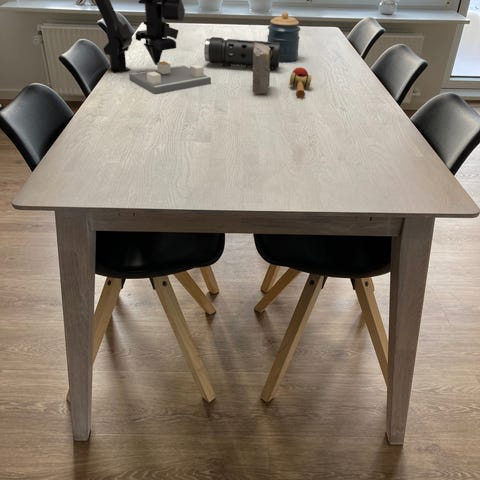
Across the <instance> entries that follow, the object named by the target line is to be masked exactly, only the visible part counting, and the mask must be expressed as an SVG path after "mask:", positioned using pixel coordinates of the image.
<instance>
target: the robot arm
mask: <svg viewBox="0 0 480 480" xmlns="http://www.w3.org/2000/svg"><path fill="white" fill-rule="evenodd" d="M93 1H94V2H95V5H96V7H97V9H98V11H99V13H100V15H101V17H102V20H103V22H104V24H105V27H106V37H107V40H108V42H107V44H105V46H104V47H103V49H102V50H103V52H104V55H106V56H108V57H109V66H106V69H107V70H109V71H110V72H112V73H115V74H116V73H121V72H122V73H123V72H128V71H130V70H131V68H129V67H127V61H126V52H127V51H129V47H130V46H131V44H132V42H133V37H132V36H133V33H132V32H131V31H130V28H129V25H128V23H125V24H123V23H122V22H121V20H120V19H119V17H118V15H117V13H116V11H115V9H114V6H113V4H112V2H111V0H93ZM138 4H142V5H143V4H144V13H145V14H144V15H145V20H143V25H145V27H146V29H145V30H137V32H135V34H134V36H135V40H137V41H139V42H141V40H143V39H144V40H145V42H144V43H143V46H144V47H145V49H146V51H147V52H148V53H149V56H150V57H151V59H152V62H153V64H154V65H155V66H157V63H159V62H161V57H162V54H163V51H167V50H175V49H177V42H176V41H175V40H177V39H178V35H179V29H176V28H173V27H170V23H167V22H165V21H163V20H169V21H177V22H182V21H183V20H184V18H185V15H186V14H185V13H186V11H185V10H186V9H185V6H184V3H183V1H182V0H138ZM172 38H173V39H172Z"/></svg>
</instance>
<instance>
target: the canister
mask: <svg viewBox="0 0 480 480" xmlns="http://www.w3.org/2000/svg"><path fill="white" fill-rule="evenodd" d="M299 23H300V21H298V20H297V19H296V18H295V17H293V16H292V17H291V16H289V13H288V12H287V11H283V12H282V14H281V16H280V15H279V16H275V17H274V18H272V19H270V25H268V26H267V29H268V34H267V41H266V42H280V44H281V46H280V60H279V63H291V62H292V63H293V62H295V61H297V60H298V56H299V43H300V36H299V35H300V34H299V33H300V31H301V27H300V26H299Z"/></svg>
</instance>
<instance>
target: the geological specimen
mask: <svg viewBox="0 0 480 480" xmlns="http://www.w3.org/2000/svg"><path fill="white" fill-rule="evenodd" d="M271 55H272V51H271V49H270V48H269V47H268V46H265V45H264V44H259V43H257V42H255V43H254V51H253V67H252V92H253V93H255V94H265V93H268V90H269V87H270V74H271V73H270V72H271V69H270V57H271Z"/></svg>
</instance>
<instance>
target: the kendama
mask: <svg viewBox="0 0 480 480" xmlns="http://www.w3.org/2000/svg"><path fill="white" fill-rule="evenodd" d="M311 83H312V75H311V74H309V73H308V70H307V69H305V68H304V67H301V66H300V67H297V68H294V69H293V70H292V72H291V74H290V79H289V86H291V87H293V86H294V85H295V86H296V93H295V95H296V97H297V99H303V98H304V97H305V96H306V92H305V90H310V86H311Z"/></svg>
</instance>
